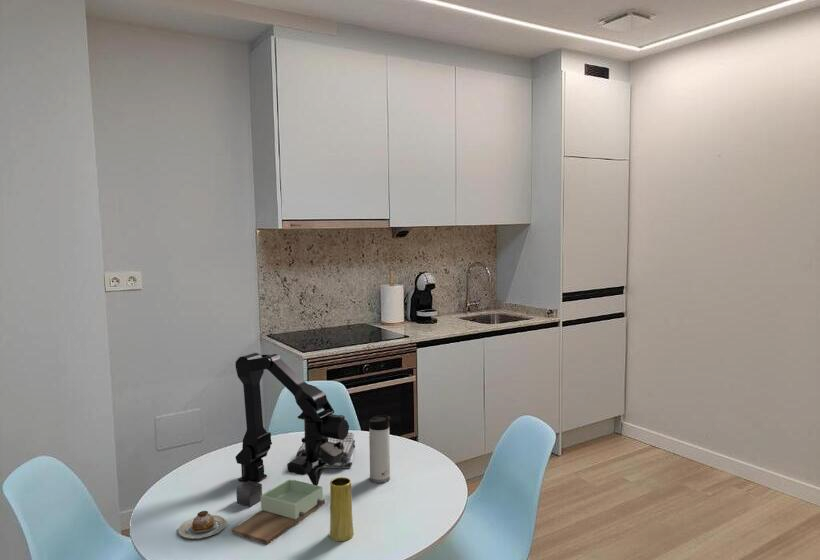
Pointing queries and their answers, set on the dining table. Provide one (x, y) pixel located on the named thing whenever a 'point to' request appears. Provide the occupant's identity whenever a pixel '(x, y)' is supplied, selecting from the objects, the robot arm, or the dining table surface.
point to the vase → (341, 509)
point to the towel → (345, 458)
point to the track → (268, 525)
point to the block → (249, 493)
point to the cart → (292, 498)
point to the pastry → (202, 525)
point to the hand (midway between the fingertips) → (315, 485)
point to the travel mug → (379, 448)
